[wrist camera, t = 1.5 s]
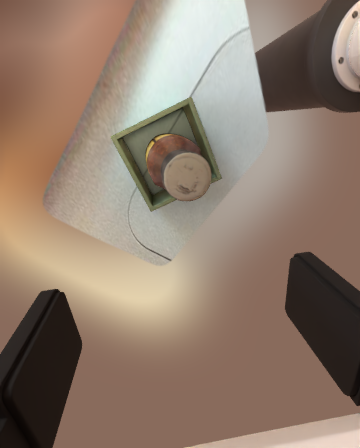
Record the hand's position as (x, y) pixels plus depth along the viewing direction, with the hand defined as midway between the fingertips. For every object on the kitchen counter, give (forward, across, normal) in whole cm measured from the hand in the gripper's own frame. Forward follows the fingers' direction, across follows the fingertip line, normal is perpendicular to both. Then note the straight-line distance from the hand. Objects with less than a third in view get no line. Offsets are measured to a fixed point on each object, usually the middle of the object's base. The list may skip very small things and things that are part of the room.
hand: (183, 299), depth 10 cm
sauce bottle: (+31, -2, -2) cm, 31 cm away
